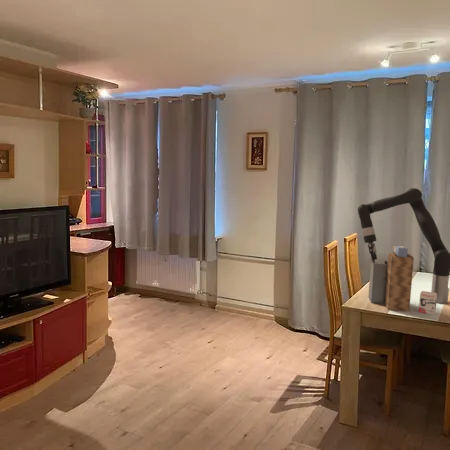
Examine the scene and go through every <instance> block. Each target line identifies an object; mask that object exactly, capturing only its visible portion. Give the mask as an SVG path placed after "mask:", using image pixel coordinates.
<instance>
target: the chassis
mask: <svg viewBox="0 0 450 450" xmlns="http://www.w3.org/2000/svg"><path fill="white" fill-rule="evenodd" d="M387 269H388V259H387V260H386V259H383V262H382V263H377V262H376V260H372V258H371V259H370V270H369V283H368V296H367V297H368V299H369V301H370V303H371V304H380V305H385V296H386V282H387Z"/></svg>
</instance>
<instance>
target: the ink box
mask: <svg viewBox="0 0 450 450" xmlns="http://www.w3.org/2000/svg"><path fill="white" fill-rule="evenodd" d="M436 302H437V293H433V292H431V291H425V290H422V291H420V293H419V303H418V304H419V305H418V313H422V314H423V313H424V314H429V315H433V316H434V315H436V309H437V303H436Z"/></svg>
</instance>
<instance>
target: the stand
mask: <svg viewBox="0 0 450 450" xmlns="http://www.w3.org/2000/svg"><path fill="white" fill-rule="evenodd" d="M387 260H388V269H387V282H386V296H385V304H384V306H385V308H386V309H387V311H396V310H397V312H399V311H400V312H410V308H411V307H410V306H411V295H412V285H413V270H414V257H413V256H412V254H410V253H407V257H398V256H397V254H396V253H395V252H394V251H393V252H388V257H387Z"/></svg>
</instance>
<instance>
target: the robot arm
mask: <svg viewBox="0 0 450 450" xmlns="http://www.w3.org/2000/svg"><path fill="white" fill-rule="evenodd" d="M406 204H409V205H410V207H411V209H412V211H413V213H414V216H415V219H416V221H417V224H418V226H419V228H420V231H421V232H422V234H423V237H424V238H425V239H426V241H427V242H428V243H429V246H430V248H431V251H432V254H433V258H434V261H433V270H432V280H431V281H432V282H431V291H430V292H433V293H437V302H436V304H448V303H449V302H448V301H449V291H450V288H449V278H450V252H449V250H448V249H447V247H446V246H445V244H444V242H443V241H442V238H441V234H440V232H439V229H438V226H437V223H436V222H435V220H434V218H433V216H432V215H431V213H430V212H429V209H428V208H427V207H426V205H425V203H424V200H423V193H422V191H421V190H420V189H418V188H413V187H411V188H409V189H408V190H406V191H405V192H403V193H400V194H396V195H394V196H389V197H385V198H380V199H378V200H375V201H372V202H370V203H367V204H365V203H362V204H360V205H359V206H358V207H357V212H358V217H359V220H360V226H361V231H362V232H361V233H362V236H363V240H364V241H363V242H364V243H365V244H367V248H368V251H369V254H370V258H371V259H372V260H375V261H376V260H378V256H377V248H376V244H375V243H374V242H377V235H376V232H375V228H374V225H373V222H372V221H373V220H372V218H371V215H372V214H374V213H377V212H382V211H385V210H387V209H391V208H394V207H397V206H400V205H401V206H402V205H406Z"/></svg>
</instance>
